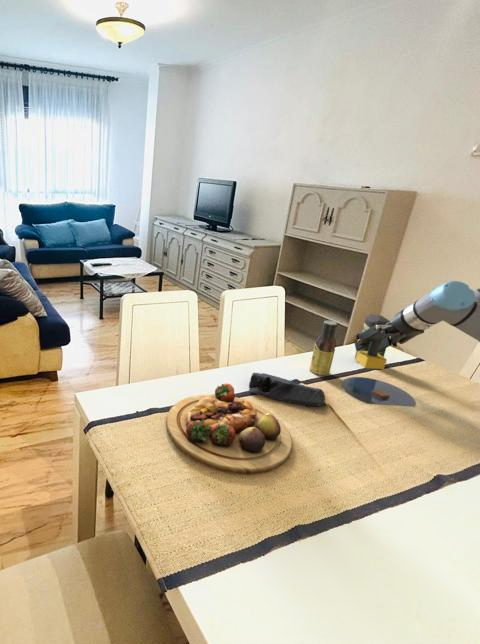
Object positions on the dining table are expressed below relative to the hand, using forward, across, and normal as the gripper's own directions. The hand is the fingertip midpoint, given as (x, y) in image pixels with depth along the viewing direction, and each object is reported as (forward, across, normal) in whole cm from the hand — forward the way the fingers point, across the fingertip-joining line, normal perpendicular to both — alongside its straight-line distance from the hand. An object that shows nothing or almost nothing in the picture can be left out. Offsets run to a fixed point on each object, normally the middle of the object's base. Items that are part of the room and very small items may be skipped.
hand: (366, 347), depth 128 cm
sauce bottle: (+10, -13, -7) cm, 18 cm away
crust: (-1, 0, -16) cm, 17 cm away
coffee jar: (+18, +11, +1) cm, 21 cm away
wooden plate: (-15, -53, -33) cm, 64 cm away
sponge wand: (+1, 0, -6) cm, 6 cm away
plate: (+1, 0, -16) cm, 16 cm away
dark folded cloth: (0, -29, -17) cm, 34 cm away
